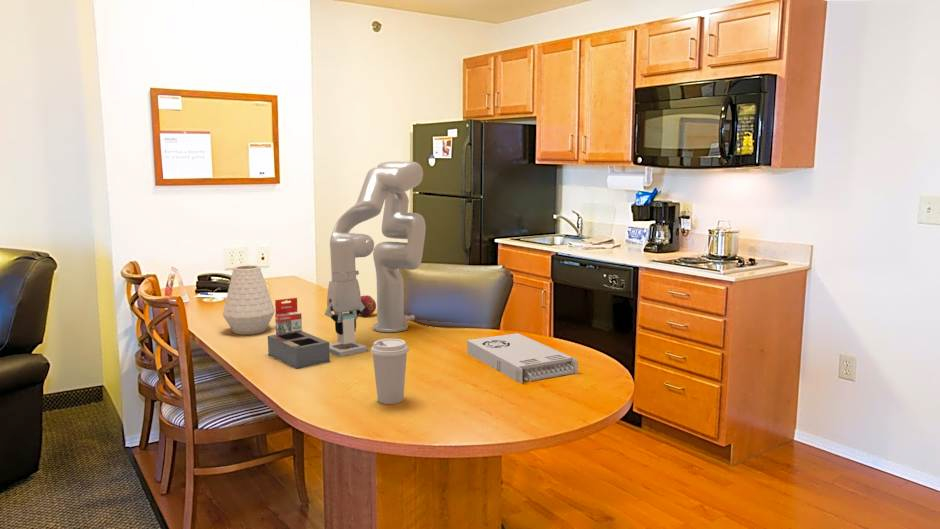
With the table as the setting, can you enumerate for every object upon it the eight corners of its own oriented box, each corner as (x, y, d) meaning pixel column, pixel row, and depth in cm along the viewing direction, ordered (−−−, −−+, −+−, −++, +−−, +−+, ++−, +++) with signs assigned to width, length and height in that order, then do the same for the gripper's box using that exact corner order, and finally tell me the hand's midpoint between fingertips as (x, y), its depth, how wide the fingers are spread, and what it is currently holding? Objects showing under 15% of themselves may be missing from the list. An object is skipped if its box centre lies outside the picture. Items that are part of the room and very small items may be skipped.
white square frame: (350, 344, 219) (350, 340, 219) (367, 351, 211) (367, 346, 211) (323, 350, 212) (323, 345, 212) (339, 357, 205) (339, 352, 205)
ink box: (302, 341, 222) (301, 299, 220) (279, 345, 218) (277, 301, 216) (299, 339, 225) (297, 297, 223) (276, 342, 221) (274, 299, 219)
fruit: (380, 315, 261) (379, 295, 259) (366, 319, 254) (366, 298, 253) (365, 312, 265) (364, 293, 264) (351, 316, 258) (351, 296, 257)
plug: (348, 339, 215) (347, 312, 213) (355, 341, 212) (354, 314, 210) (337, 341, 212) (336, 314, 211) (344, 344, 209) (342, 316, 208)
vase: (213, 334, 231) (209, 269, 228) (247, 323, 247) (243, 262, 244) (253, 339, 225) (249, 272, 221) (285, 327, 241) (282, 265, 237)
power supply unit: (521, 386, 181) (521, 369, 180) (466, 355, 210) (466, 340, 209) (577, 376, 189) (578, 359, 189) (517, 347, 218) (517, 333, 218)
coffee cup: (372, 393, 173) (371, 338, 170) (409, 392, 174) (408, 337, 171) (370, 407, 163) (369, 348, 161) (409, 406, 164) (408, 347, 162)
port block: (300, 348, 215) (300, 329, 214) (329, 361, 200) (329, 341, 200) (268, 354, 208) (267, 335, 207) (296, 368, 193) (295, 347, 192)
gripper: (360, 271, 216) (362, 325, 220) (313, 278, 206) (316, 334, 209) (372, 274, 211) (374, 329, 214) (325, 281, 200) (328, 340, 203)
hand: (346, 331), depth 212 cm, fingers closed on plug, 4 cm apart
